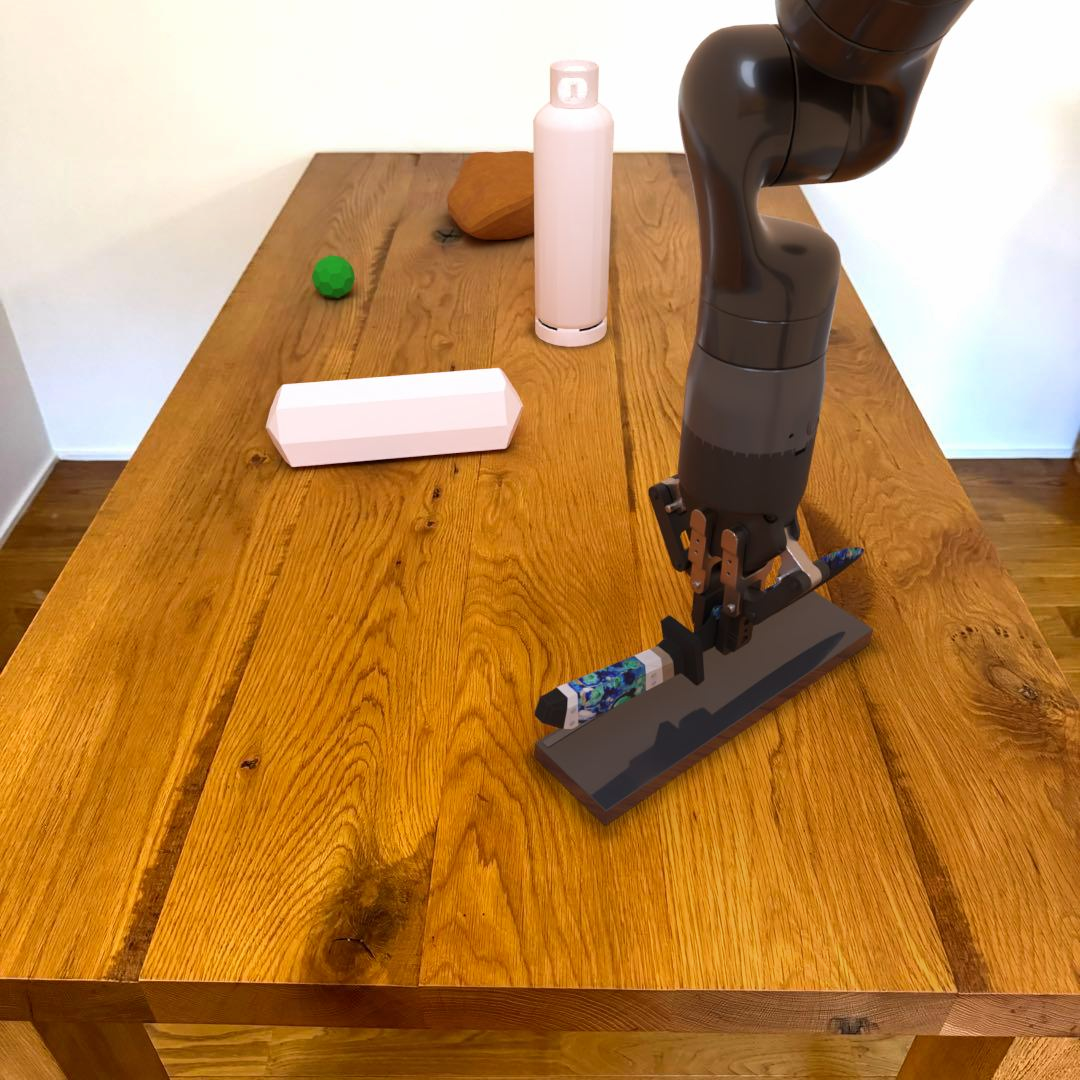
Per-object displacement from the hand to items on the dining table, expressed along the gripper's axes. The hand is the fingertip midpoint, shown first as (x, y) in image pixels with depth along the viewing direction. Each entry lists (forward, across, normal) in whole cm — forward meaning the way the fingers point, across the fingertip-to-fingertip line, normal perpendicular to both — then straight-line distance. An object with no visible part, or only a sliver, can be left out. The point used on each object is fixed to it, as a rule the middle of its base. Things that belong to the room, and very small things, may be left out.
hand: (719, 639), depth 69 cm
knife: (+1, 0, 0) cm, 1 cm away
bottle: (+6, -50, +29) cm, 58 cm away
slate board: (+6, 0, 0) cm, 6 cm away
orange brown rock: (+6, -81, +41) cm, 91 cm away
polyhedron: (+6, -75, +13) cm, 76 cm away
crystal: (+6, -42, +1) cm, 42 cm away
